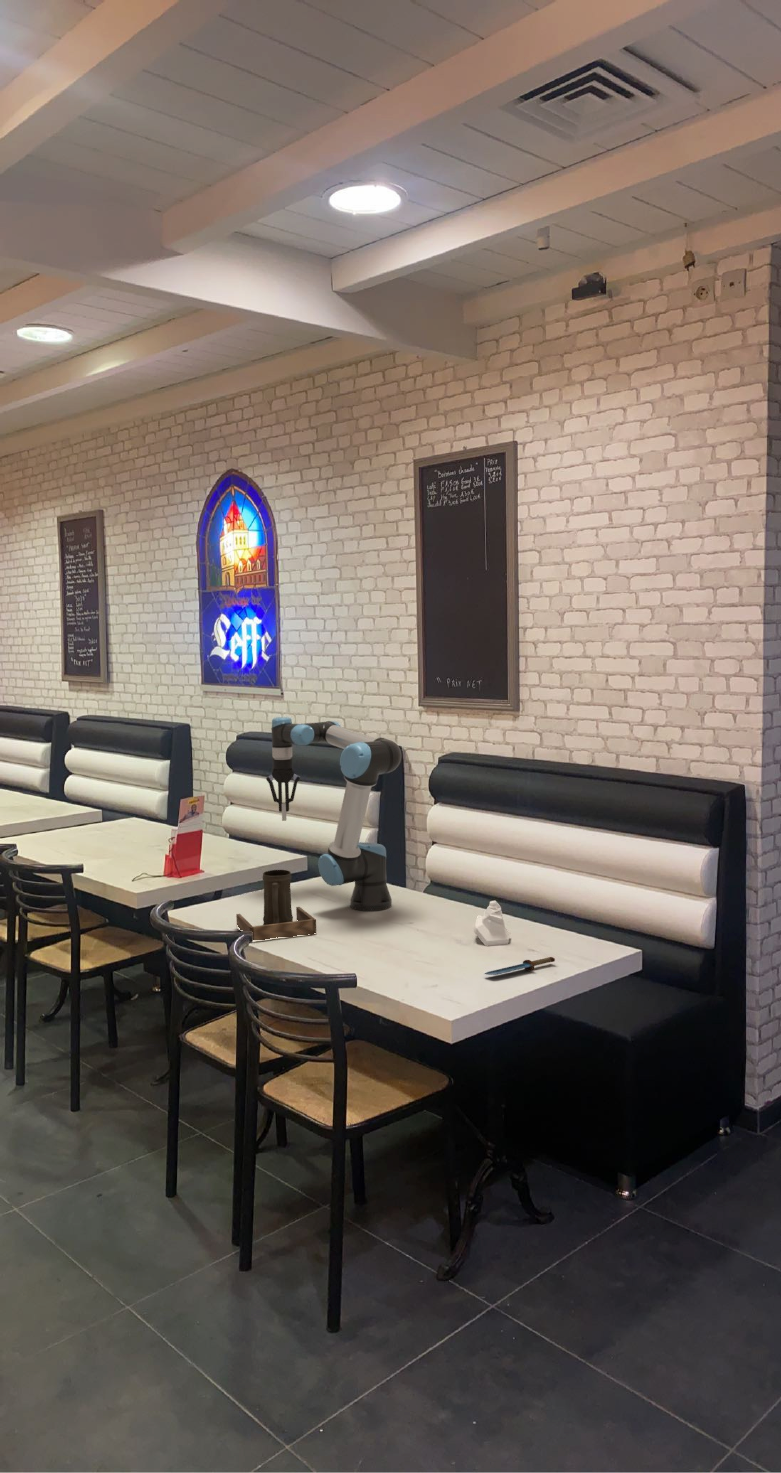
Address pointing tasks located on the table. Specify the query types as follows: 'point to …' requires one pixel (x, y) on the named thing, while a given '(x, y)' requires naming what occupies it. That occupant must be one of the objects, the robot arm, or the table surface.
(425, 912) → the table surface
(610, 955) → the table surface
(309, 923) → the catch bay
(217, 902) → the table surface
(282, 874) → the beer stein
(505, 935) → the white faceted rock
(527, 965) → the knife
